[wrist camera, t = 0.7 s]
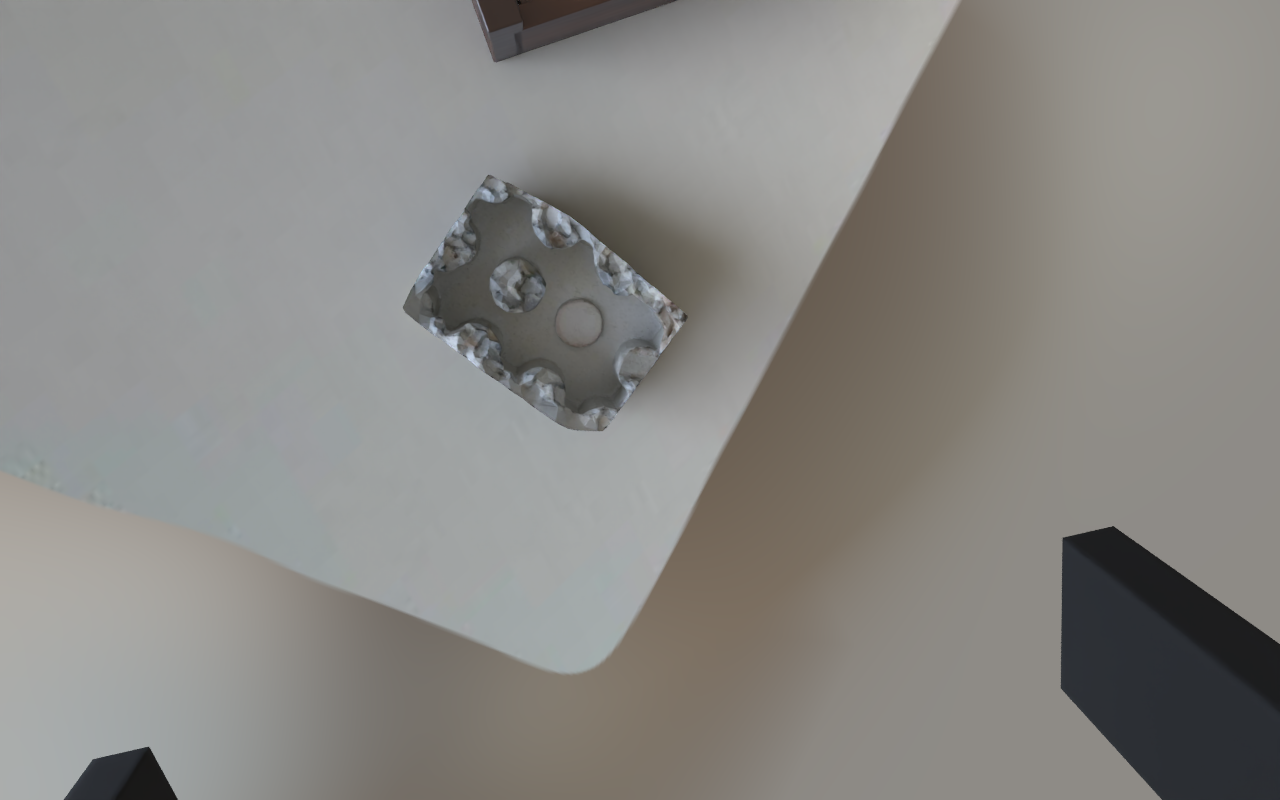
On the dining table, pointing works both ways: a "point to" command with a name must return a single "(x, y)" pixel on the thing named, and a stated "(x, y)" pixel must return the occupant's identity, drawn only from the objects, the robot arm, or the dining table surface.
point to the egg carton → (543, 307)
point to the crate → (548, 20)
